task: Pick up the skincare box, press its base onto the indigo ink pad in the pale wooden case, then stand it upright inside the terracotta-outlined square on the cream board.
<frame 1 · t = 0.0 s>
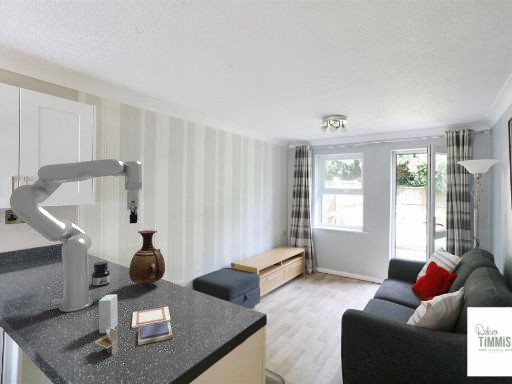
hand: (133, 222, 131), 37 cm above the counter, tool pointing down, fingers open, 9 cm apart
ink bottle: (100, 285, 150), on the counter
architectural model: (109, 353, 87), on the counter
skincare box: (108, 329, 101), on the counter
marked board: (151, 317, 110), on the counter
vase: (147, 286, 147), on the counter
ink pad: (155, 334, 97), on the counter
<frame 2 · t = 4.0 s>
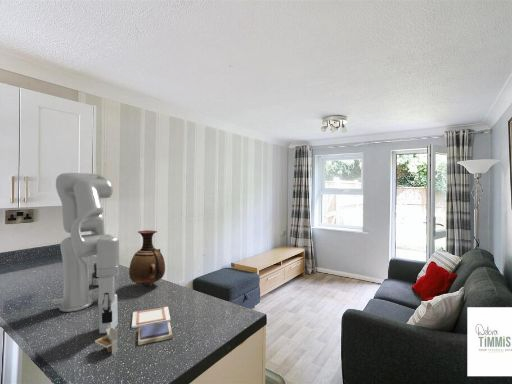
hand: (108, 317, 101), 4 cm above the counter, tool pointing down, fingers closed on skincare box, 6 cm apart
skincare box: (108, 329, 101), on the counter, touching gripper
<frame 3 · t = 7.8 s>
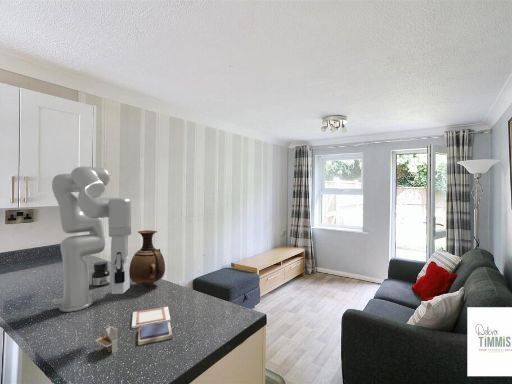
hand: (120, 279, 100), 19 cm above the counter, tool pointing down, fingers closed on skincare box, 6 cm apart
skincare box: (120, 291, 100), point 15 cm above the counter, touching gripper
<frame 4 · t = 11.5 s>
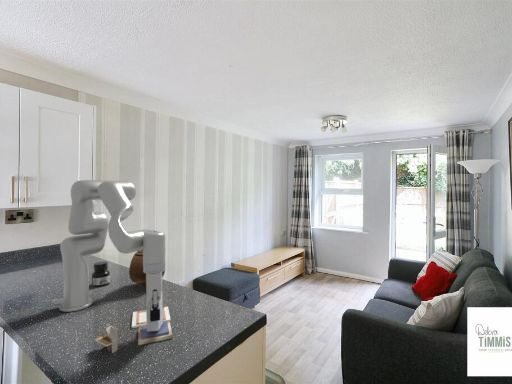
hand: (154, 315, 97), 7 cm above the counter, tool pointing down, fingers closed on skincare box, 6 cm apart
skincare box: (154, 327, 97), point 2 cm above the counter, touching gripper
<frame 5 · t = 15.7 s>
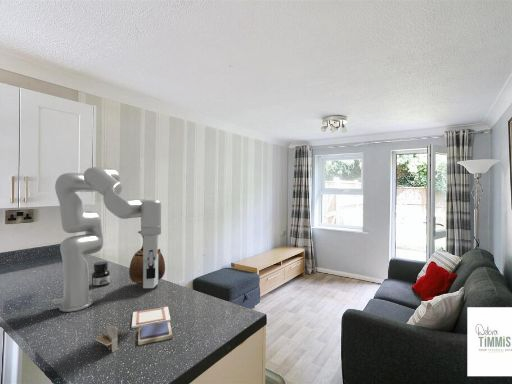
hand: (150, 275, 108), 18 cm above the counter, tool pointing down, fingers closed on skincare box, 6 cm apart
skincare box: (150, 286, 108), point 14 cm above the counter, touching gripper
when the fingers open (7 cm above the counter, at t = 19.4 s): skincare box drops 2 cm, resting on marked board.
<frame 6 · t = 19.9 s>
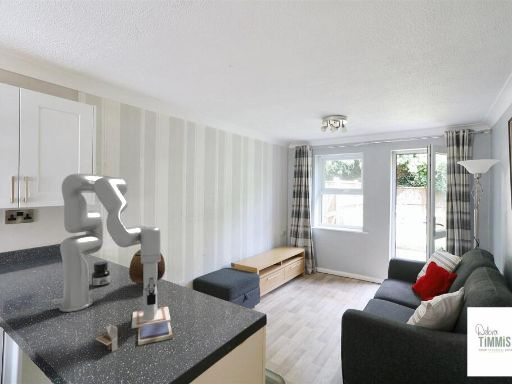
hand: (151, 299, 110), 7 cm above the counter, tool pointing down, fingers open, 9 cm apart
skincare box: (150, 316, 110), point 1 cm above the counter, touching marked board
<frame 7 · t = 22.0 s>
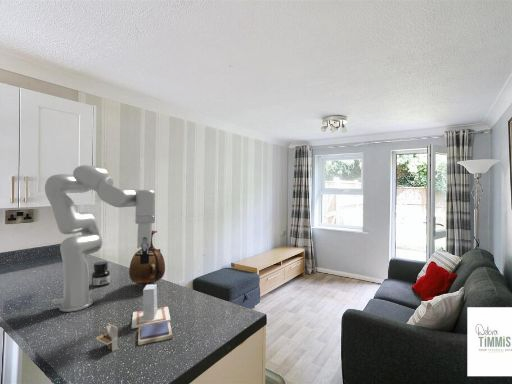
hand: (144, 260, 112), 23 cm above the counter, tool pointing down, fingers open, 9 cm apart
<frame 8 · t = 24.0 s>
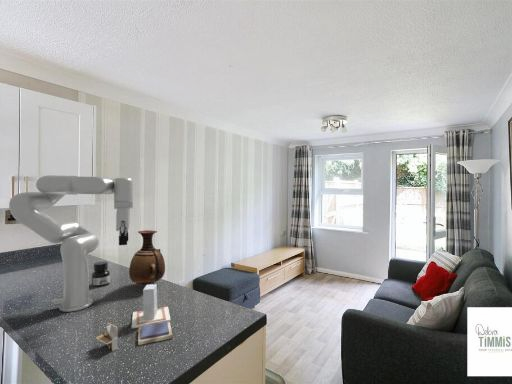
hand: (123, 243, 122), 28 cm above the counter, tool pointing down, fingers open, 9 cm apart
at the end: skincare box 0.3 cm off-centre on the marked board, point 0.6 cm above the marked board's base; skincare box tilted 0°; the gripper is holding nothing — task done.
